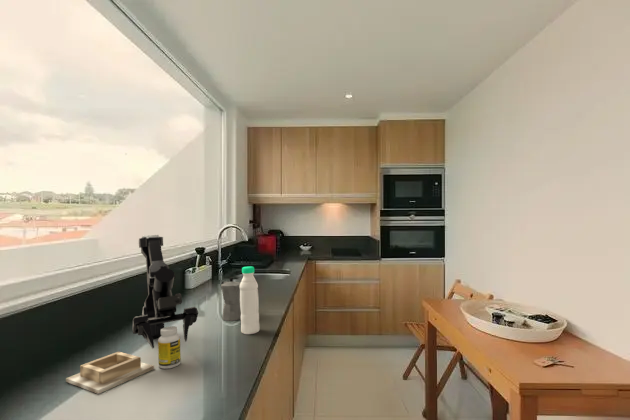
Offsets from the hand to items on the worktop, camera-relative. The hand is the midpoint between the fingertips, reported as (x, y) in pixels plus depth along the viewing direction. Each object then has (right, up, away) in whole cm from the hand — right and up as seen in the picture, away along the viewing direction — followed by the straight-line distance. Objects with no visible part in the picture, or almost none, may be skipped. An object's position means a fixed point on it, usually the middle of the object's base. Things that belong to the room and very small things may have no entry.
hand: (170, 344), depth 104 cm
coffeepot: (+6, -8, +50) cm, 51 cm away
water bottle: (+19, -7, +29) cm, 35 cm away
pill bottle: (0, -7, +1) cm, 7 cm away
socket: (-15, -7, -5) cm, 17 cm away
